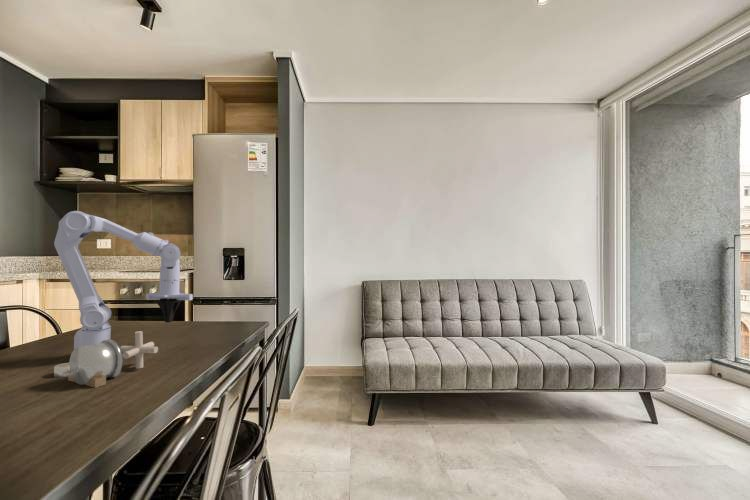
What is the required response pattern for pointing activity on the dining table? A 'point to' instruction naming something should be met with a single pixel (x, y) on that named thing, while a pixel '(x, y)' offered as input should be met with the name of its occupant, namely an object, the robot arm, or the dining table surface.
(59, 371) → the foil tape roll
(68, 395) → the dining table surface
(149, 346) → the pipe connector
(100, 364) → the duct stub
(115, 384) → the dining table surface
